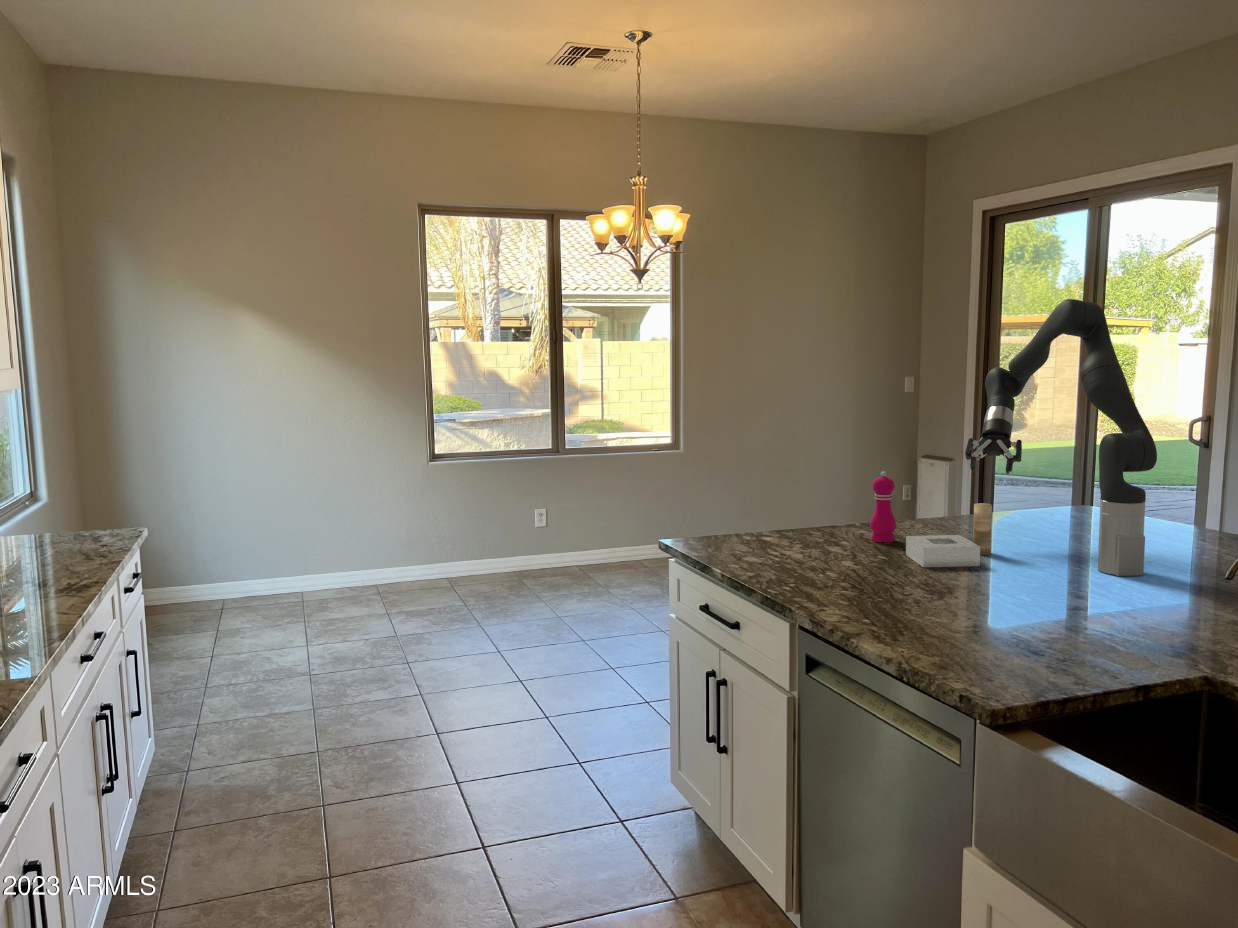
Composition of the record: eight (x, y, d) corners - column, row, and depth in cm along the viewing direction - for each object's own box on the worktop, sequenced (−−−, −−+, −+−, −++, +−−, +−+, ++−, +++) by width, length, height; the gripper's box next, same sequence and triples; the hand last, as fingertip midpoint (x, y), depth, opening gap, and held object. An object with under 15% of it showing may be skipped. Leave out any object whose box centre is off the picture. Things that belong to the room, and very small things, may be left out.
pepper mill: (893, 537, 249) (894, 469, 247) (898, 543, 242) (899, 472, 240) (867, 537, 250) (868, 469, 248) (872, 543, 243) (873, 473, 241)
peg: (993, 554, 226) (994, 505, 224) (976, 555, 226) (977, 506, 224) (986, 550, 230) (988, 503, 228) (970, 551, 230) (971, 503, 228)
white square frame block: (979, 566, 214) (980, 546, 213) (923, 567, 214) (923, 547, 214) (958, 553, 228) (959, 534, 227) (905, 554, 228) (906, 536, 228)
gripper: (969, 416, 244) (961, 461, 236) (1024, 417, 237) (1017, 463, 229) (972, 433, 250) (964, 477, 242) (1026, 434, 242) (1019, 480, 234)
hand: (990, 471), depth 235 cm, fingers open, 8 cm apart
